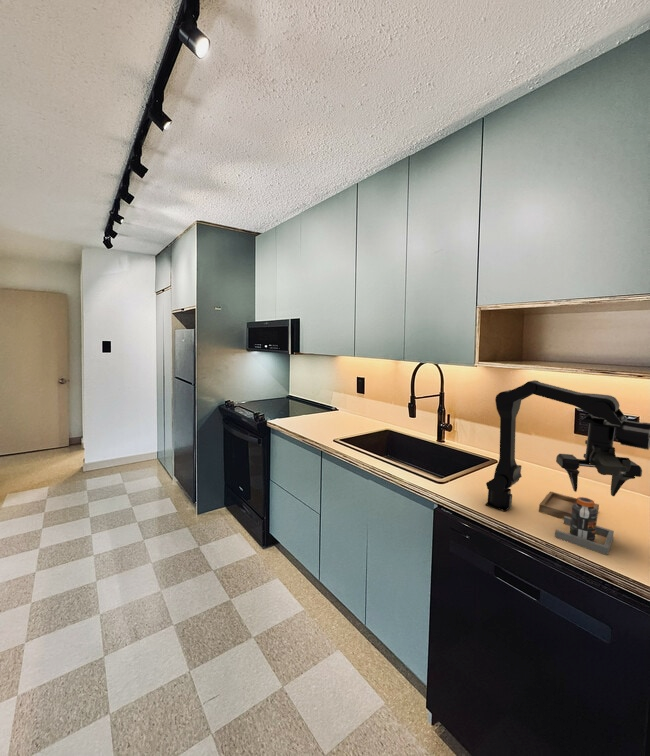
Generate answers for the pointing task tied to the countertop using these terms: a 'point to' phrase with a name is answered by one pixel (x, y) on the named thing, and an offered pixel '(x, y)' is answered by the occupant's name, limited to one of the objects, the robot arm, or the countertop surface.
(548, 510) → the tray
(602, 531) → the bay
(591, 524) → the pill bottle
